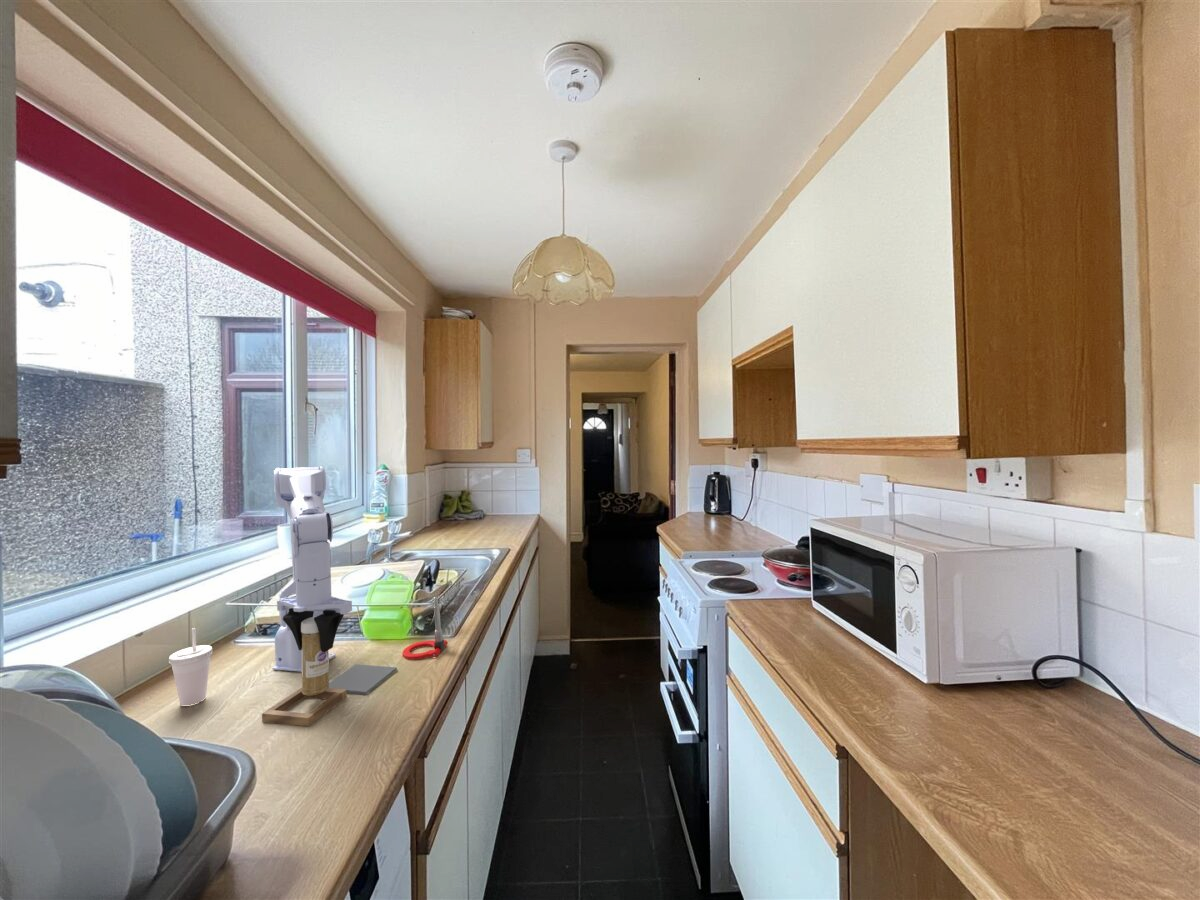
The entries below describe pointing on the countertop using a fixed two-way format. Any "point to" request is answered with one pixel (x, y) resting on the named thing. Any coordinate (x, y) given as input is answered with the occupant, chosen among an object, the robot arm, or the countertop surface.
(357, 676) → the coaster
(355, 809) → the countertop surface
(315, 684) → the sprinkles bottle
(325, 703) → the collar
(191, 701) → the smoothie
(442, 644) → the tow hook
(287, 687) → the countertop surface
